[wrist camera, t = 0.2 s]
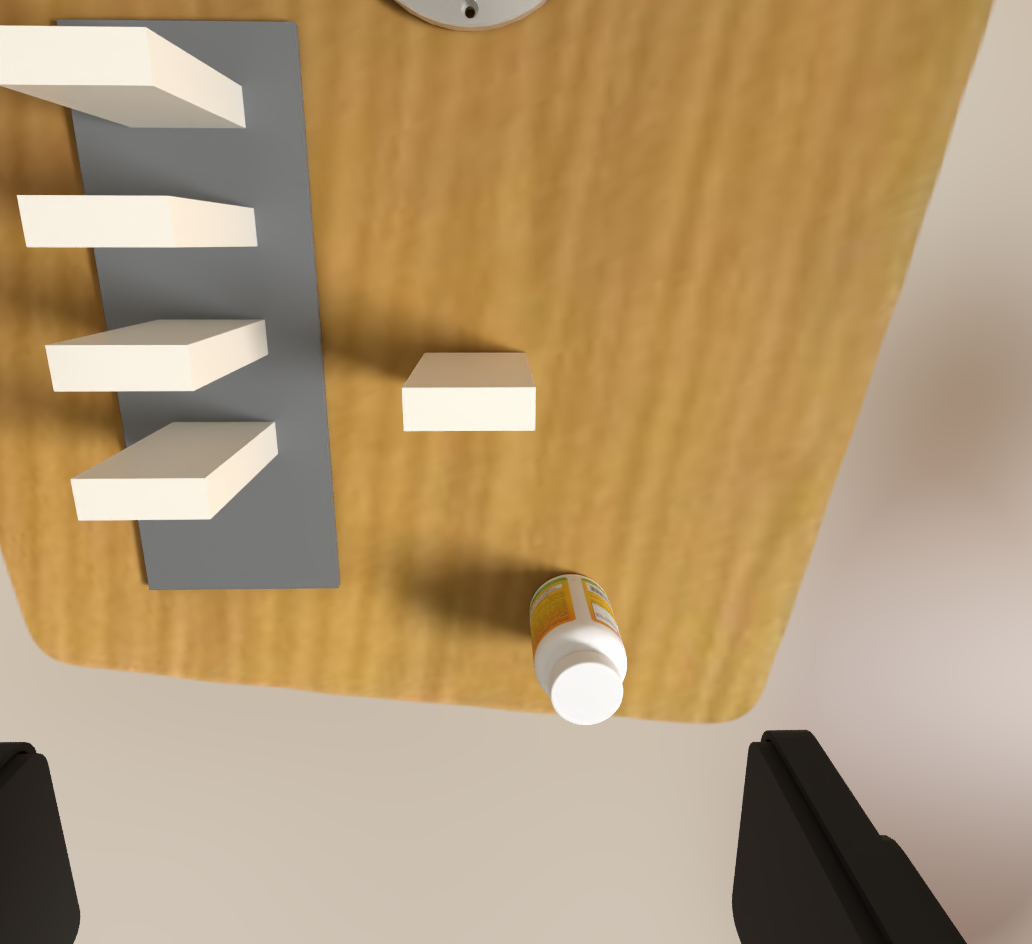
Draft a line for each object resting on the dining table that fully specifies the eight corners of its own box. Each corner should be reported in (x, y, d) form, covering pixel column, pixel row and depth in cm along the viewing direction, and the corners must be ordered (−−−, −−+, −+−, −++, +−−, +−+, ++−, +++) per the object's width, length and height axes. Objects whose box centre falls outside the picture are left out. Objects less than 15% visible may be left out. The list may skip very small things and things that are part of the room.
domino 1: (125, 85, 38) (-16, 25, 28) (241, 86, 38) (145, 27, 28) (131, 127, 39) (-5, 84, 28) (245, 128, 39) (153, 85, 28)
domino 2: (142, 207, 40) (16, 195, 29) (253, 208, 40) (167, 195, 30) (148, 246, 40) (26, 247, 30) (257, 246, 41) (174, 247, 30)
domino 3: (158, 319, 42) (45, 345, 31) (264, 319, 42) (187, 345, 31) (163, 354, 42) (54, 391, 32) (268, 354, 42) (193, 391, 32)
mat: (63, 22, 38) (56, 19, 37) (297, 25, 38) (294, 21, 37) (153, 585, 47) (149, 589, 47) (340, 583, 48) (338, 588, 47)
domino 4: (173, 422, 43) (70, 479, 33) (274, 421, 44) (205, 478, 33) (177, 454, 44) (78, 520, 34) (278, 453, 44) (210, 519, 34)
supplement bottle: (525, 642, 49) (532, 734, 40) (532, 569, 48) (541, 648, 38) (604, 646, 49) (630, 739, 40) (614, 574, 48) (642, 653, 39)
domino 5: (424, 352, 43) (401, 387, 33) (525, 352, 43) (535, 387, 33) (425, 386, 44) (403, 430, 33) (525, 385, 44) (535, 430, 33)
